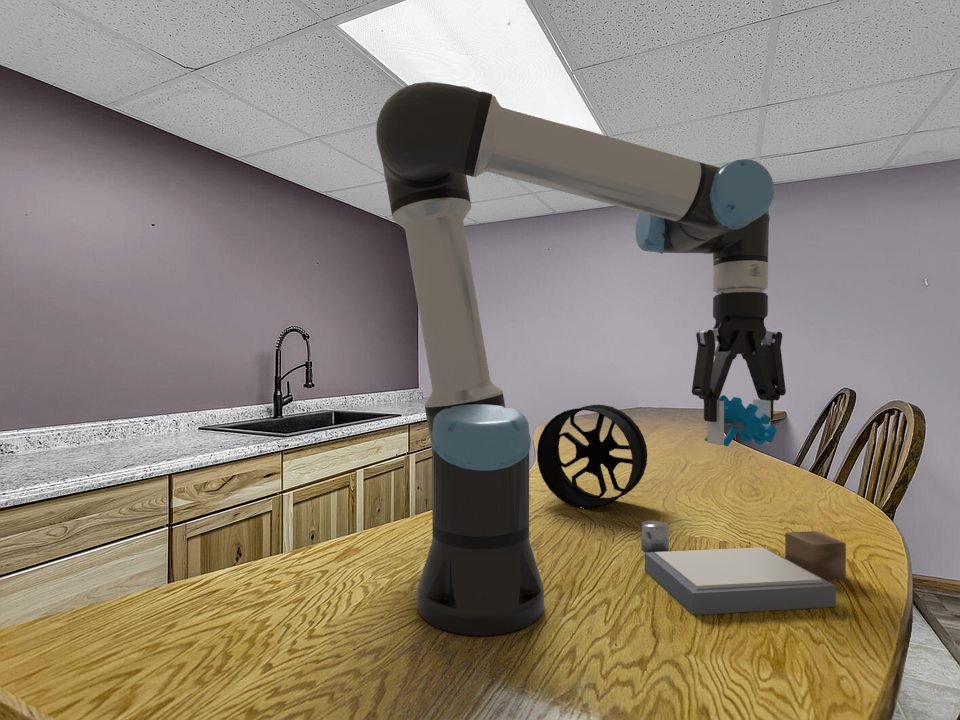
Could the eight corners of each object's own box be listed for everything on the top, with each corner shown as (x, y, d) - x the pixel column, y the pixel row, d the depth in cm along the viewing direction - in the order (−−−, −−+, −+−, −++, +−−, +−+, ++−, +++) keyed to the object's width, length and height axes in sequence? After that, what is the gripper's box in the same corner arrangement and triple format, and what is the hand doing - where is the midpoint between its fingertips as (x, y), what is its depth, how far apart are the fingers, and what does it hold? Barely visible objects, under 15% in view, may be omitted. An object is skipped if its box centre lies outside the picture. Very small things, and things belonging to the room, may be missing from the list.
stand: (693, 615, 61) (693, 589, 61) (644, 570, 74) (644, 549, 74) (835, 606, 63) (835, 582, 63) (764, 564, 76) (764, 544, 76)
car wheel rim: (647, 505, 107) (647, 406, 107) (632, 517, 99) (632, 410, 99) (556, 491, 118) (556, 402, 118) (536, 502, 109) (536, 405, 109)
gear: (793, 438, 76) (749, 389, 75) (773, 469, 74) (727, 419, 73) (736, 437, 86) (696, 395, 85) (717, 465, 85) (676, 421, 83)
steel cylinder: (648, 555, 79) (648, 529, 79) (637, 546, 83) (637, 521, 83) (673, 554, 80) (673, 528, 80) (661, 545, 84) (661, 520, 84)
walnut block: (811, 582, 70) (811, 544, 70) (785, 567, 75) (785, 532, 75) (845, 580, 71) (845, 543, 71) (817, 565, 76) (817, 531, 76)
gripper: (697, 286, 74) (696, 449, 74) (815, 293, 79) (814, 444, 79) (666, 293, 81) (664, 441, 81) (775, 298, 87) (774, 437, 86)
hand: (738, 442), depth 80 cm, fingers closed on gear, 8 cm apart
